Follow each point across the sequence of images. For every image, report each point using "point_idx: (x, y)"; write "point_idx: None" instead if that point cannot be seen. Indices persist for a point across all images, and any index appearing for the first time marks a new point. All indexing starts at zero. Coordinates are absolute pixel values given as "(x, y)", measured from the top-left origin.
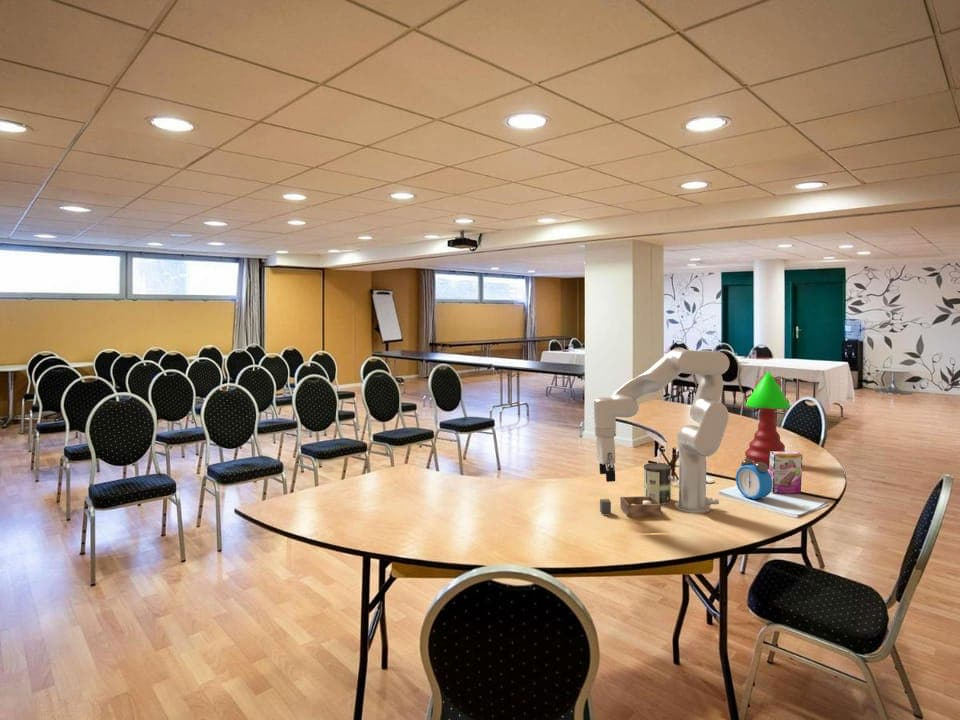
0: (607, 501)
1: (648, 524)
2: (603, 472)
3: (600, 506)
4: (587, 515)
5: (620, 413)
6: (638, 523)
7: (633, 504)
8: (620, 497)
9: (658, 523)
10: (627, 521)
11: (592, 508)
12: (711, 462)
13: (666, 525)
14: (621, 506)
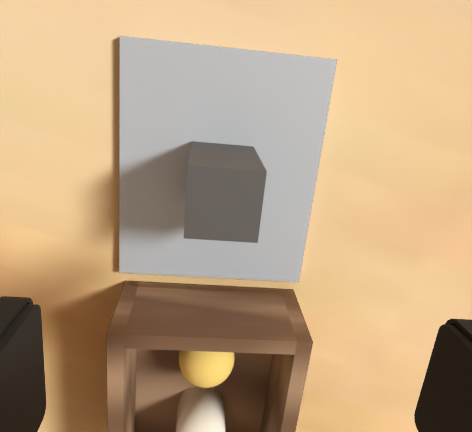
0: (196, 215)
1: None
2: (443, 376)
3: (244, 156)
4: (234, 39)
5: None
6: (47, 312)
7: (199, 375)
8: (310, 339)
9: None
10: (85, 265)
11: (369, 127)
12: None
13: None
14: (274, 305)
